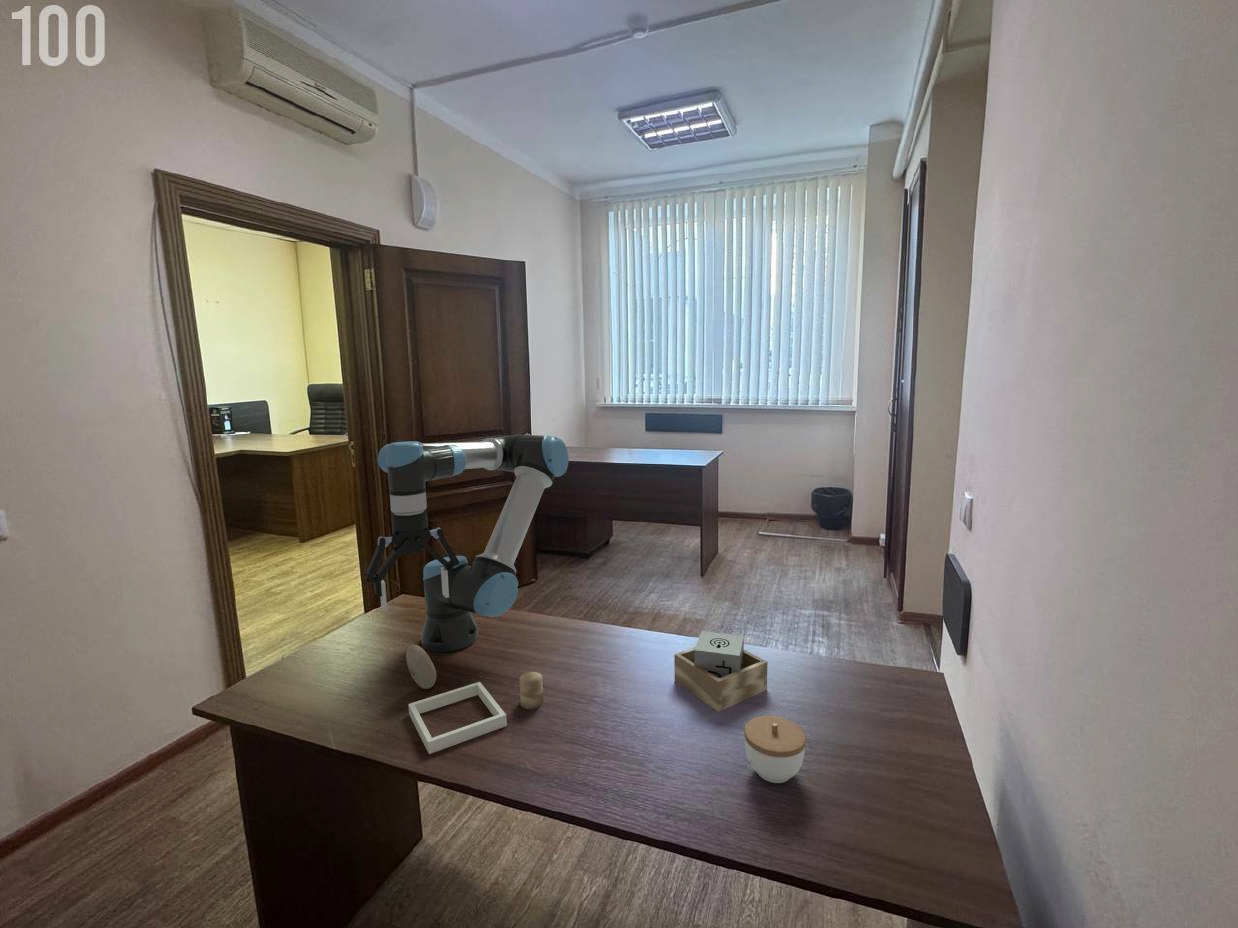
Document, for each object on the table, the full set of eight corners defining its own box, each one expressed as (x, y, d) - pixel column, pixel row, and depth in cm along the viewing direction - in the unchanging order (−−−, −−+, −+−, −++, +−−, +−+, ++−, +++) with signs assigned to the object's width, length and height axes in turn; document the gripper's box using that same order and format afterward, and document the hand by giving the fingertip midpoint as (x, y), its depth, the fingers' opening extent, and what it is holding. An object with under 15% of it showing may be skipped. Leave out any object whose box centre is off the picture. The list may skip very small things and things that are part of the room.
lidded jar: (771, 745, 111) (773, 700, 110) (817, 776, 102) (819, 729, 101) (731, 765, 106) (732, 719, 104) (775, 801, 97) (777, 751, 95)
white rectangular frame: (480, 691, 132) (479, 681, 132) (506, 725, 119) (506, 714, 119) (409, 714, 124) (408, 703, 124) (429, 754, 111) (428, 742, 110)
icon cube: (738, 697, 126) (739, 655, 125) (694, 691, 129) (694, 649, 128) (743, 675, 136) (743, 635, 134) (701, 669, 139) (701, 630, 137)
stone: (442, 686, 135) (438, 639, 133) (422, 700, 129) (418, 651, 127) (423, 681, 137) (419, 634, 135) (403, 695, 132) (399, 646, 130)
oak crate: (721, 663, 143) (721, 637, 142) (766, 690, 131) (767, 661, 130) (674, 681, 135) (674, 654, 134) (718, 712, 123) (718, 681, 122)
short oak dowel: (537, 694, 131) (536, 669, 130) (547, 704, 127) (546, 679, 126) (517, 701, 128) (515, 676, 127) (526, 711, 124) (525, 686, 123)
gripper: (459, 501, 137) (464, 586, 140) (345, 516, 123) (353, 609, 126) (469, 506, 130) (474, 595, 133) (350, 523, 117) (359, 621, 120)
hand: (415, 602), depth 130 cm, fingers open, 13 cm apart
